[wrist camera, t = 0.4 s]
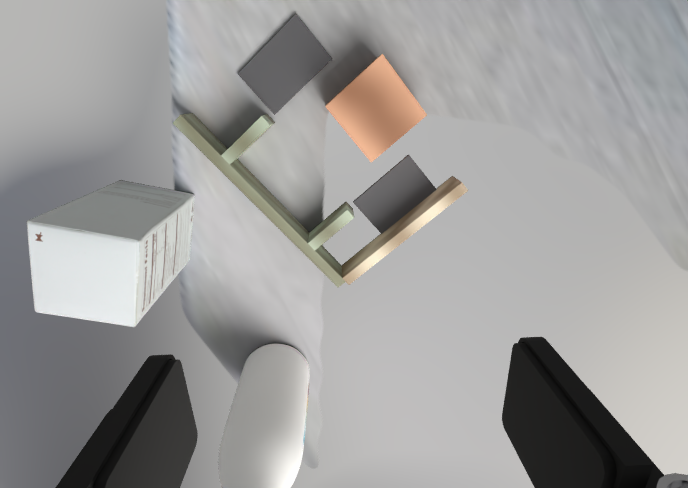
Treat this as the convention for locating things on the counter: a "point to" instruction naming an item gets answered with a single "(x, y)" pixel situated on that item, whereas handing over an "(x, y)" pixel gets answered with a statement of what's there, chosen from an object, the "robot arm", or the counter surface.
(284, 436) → the milk bottle
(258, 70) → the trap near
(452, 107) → the counter surface
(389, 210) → the plate
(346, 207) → the green-grey pronged frame
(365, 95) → the block
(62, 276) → the supplement box
